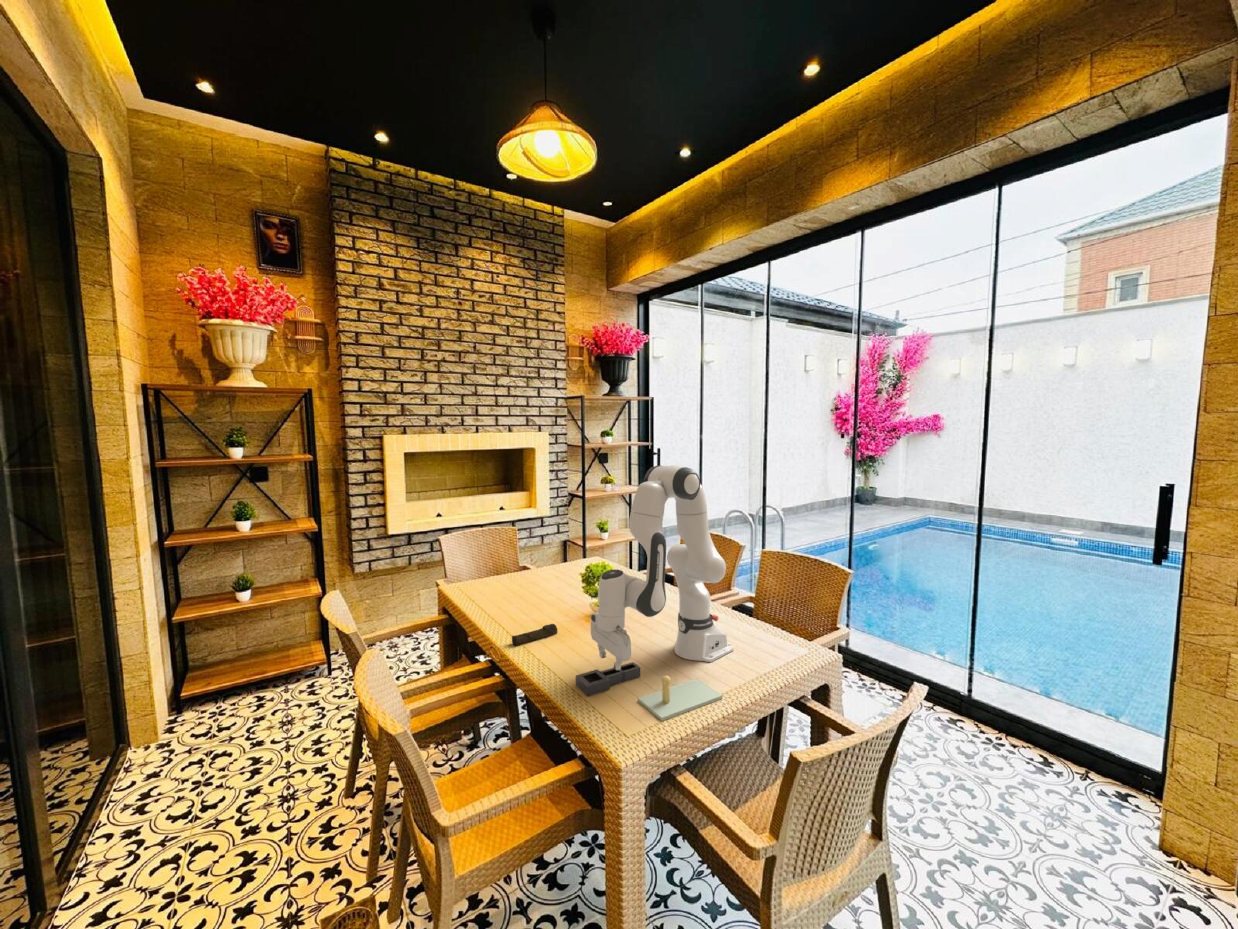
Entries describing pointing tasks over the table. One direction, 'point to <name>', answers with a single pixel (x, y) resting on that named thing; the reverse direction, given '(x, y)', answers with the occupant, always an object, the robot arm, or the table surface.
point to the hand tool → (535, 634)
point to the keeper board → (678, 698)
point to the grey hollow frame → (606, 678)
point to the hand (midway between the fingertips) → (609, 663)
